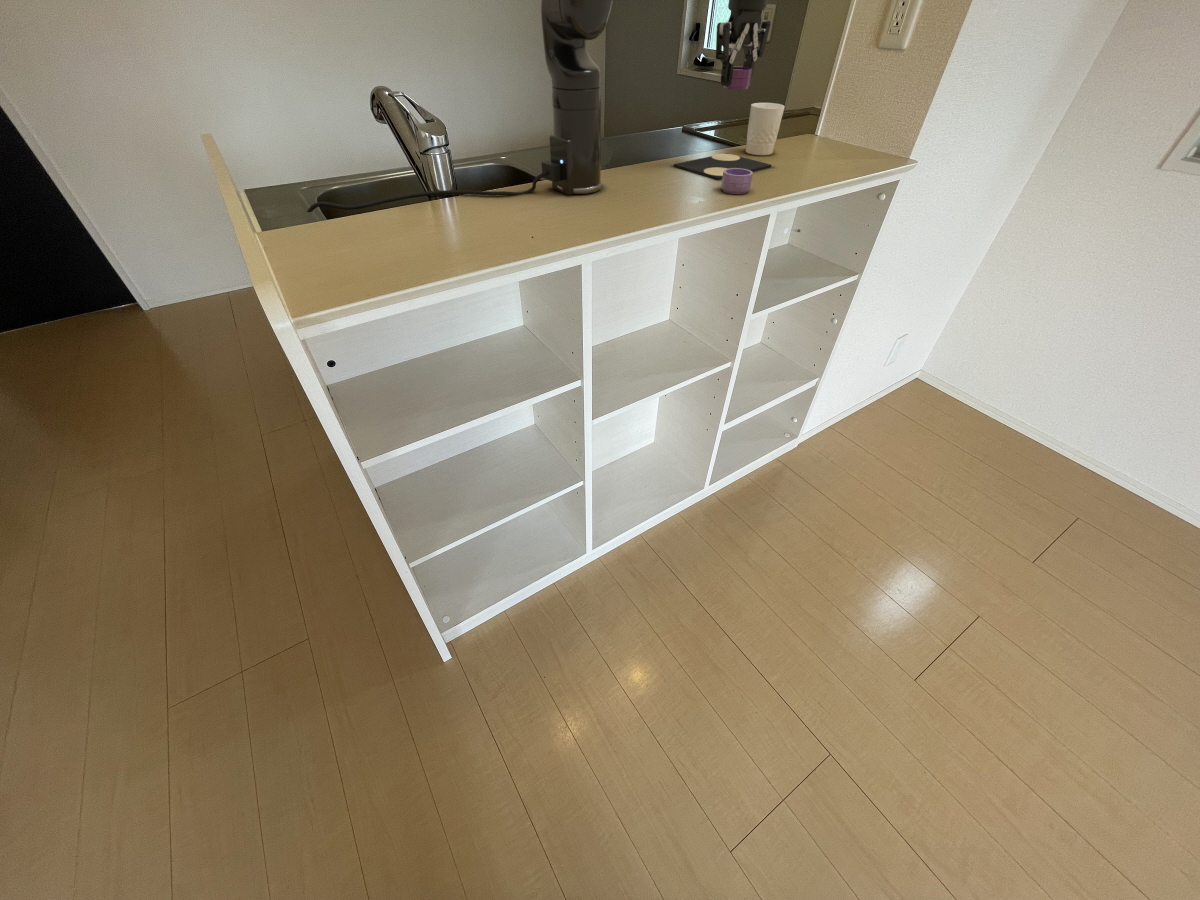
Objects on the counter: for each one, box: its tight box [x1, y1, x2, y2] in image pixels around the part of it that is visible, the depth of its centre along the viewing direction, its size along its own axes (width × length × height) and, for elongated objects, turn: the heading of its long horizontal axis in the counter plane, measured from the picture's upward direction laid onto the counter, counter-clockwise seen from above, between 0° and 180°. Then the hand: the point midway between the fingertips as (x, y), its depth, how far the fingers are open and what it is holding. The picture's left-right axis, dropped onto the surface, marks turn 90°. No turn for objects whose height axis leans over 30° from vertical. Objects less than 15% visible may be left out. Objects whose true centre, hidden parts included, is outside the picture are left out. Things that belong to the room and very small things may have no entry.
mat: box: [673, 152, 772, 181], centre depth 118 cm, size 18×15×1 cm
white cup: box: [745, 102, 785, 156], centre depth 125 cm, size 8×8×10 cm
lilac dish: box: [720, 168, 754, 195], centre depth 103 cm, size 6×6×4 cm
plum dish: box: [722, 66, 752, 91], centre depth 109 cm, size 6×6×4 cm
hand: (735, 83), depth 109 cm, fingers closed on plum dish, 6 cm apart
